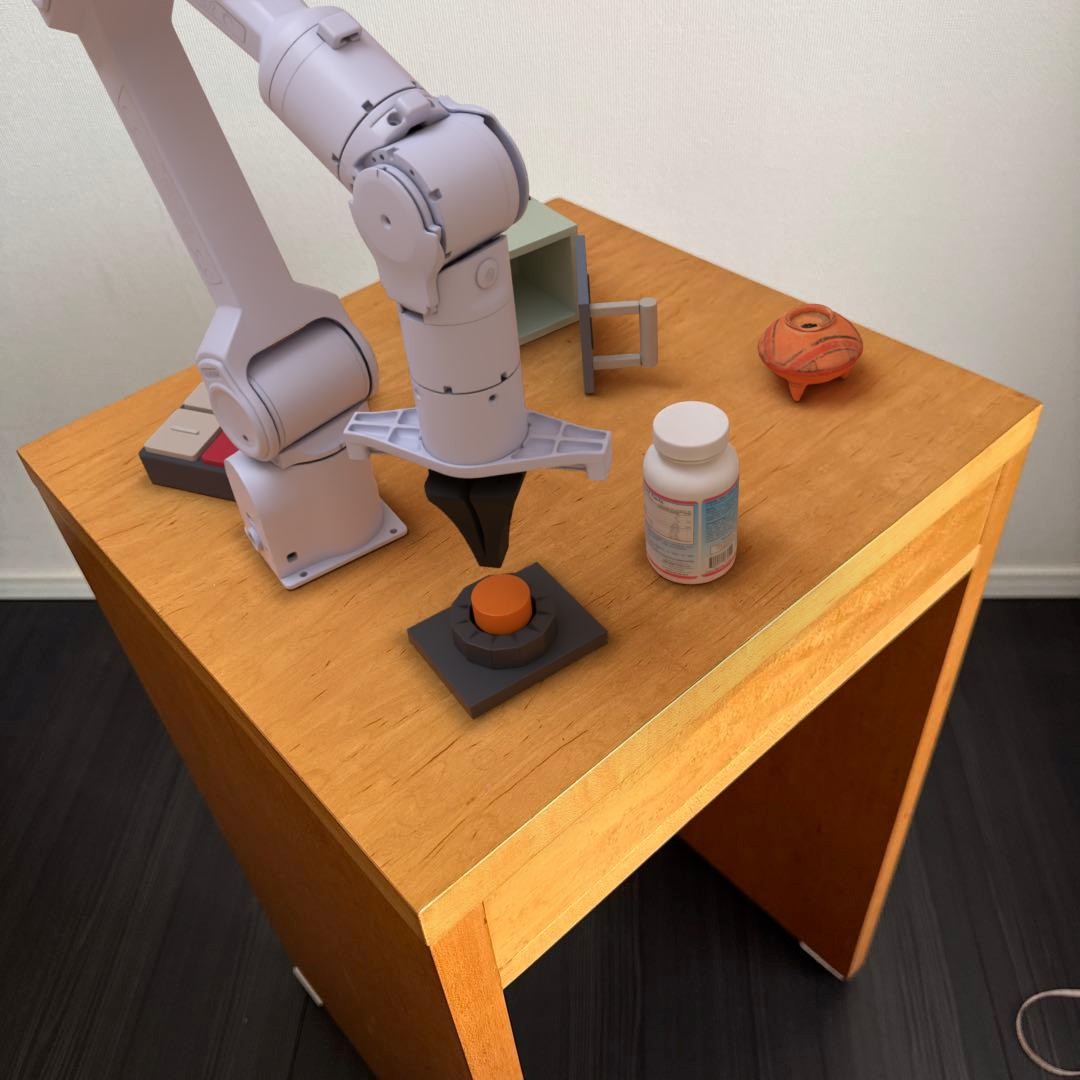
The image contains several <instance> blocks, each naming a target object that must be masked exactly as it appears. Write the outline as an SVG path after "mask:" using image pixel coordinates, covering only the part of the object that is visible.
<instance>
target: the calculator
mask: <svg viewBox="0 0 1080 1080" xmlns="http://www.w3.org/2000/svg"><path fill="white" fill-rule="evenodd" d="M268 346H269V345H268ZM268 346H267V347H268ZM265 348H266V347H265ZM263 349H264V348H263ZM261 350H262V349H261ZM259 351H260V350H259ZM259 351H258V352H259ZM237 451H239V449H238V448H237V447H236V446H235V445H234V444H233V443H232V442H231V441H230V439H229V438H228V437H227V436H226V434H225V433H224V431H223V430H222V428H221V427H220V425H219V423H218V421H217V420H216V418H215V415H214V413H213V411H212V408H211V405H210V401H209V394H208V391H207V389H206V386H205V383H204V381H203V380H202V381H201V382H200V383H199V384H198V385H197V386H196V387H195V389H194V390H193V391H192V392H191V393H190V394H189V395H188V396H187V397H186V398H185V400H183V401H182V405H181V406H180V407H178V408H176V409H175V410H174V411H173V412H172V413H171V414H170V415H169V416H168V417H167V419H166V420H165V421H164V422H163V423H162V424H161V425H159V427H158V428H157V430H155V432H154V433H152V435H150V437H149V438H148V439H147V440H146V441H145V442H144V444H143V447H142V448H140V450H139V451H138V457H139V459H140V461H141V464H142V465H143V468H144V470H145V473H146V474H147V476H148V478H149V480H150V482H151V483H153V484H155V485H156V484H157V485H161V486H166V487H170V488H173V489H174V488H175V489H179V490H183V491H188V492H192V493H197V494H202V495H206V496H209V497H215V498H219V499H225V500H228V501H233V502H236V500H235V497H234V494H233V491H232V488H231V485H230V482H229V480H228V477H227V474H226V470H225V465H224V460H225V459H226V458H228V457H229V456H231V455H233V454H234V453H236V452H237Z"/></svg>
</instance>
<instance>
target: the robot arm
mask: <svg viewBox="0 0 1080 1080" xmlns="http://www.w3.org/2000/svg"><path fill="white" fill-rule="evenodd" d="M185 1H186V2H187V3H188V4H189V5H190V6H192V7H193V8H194V9H195V10H196V11H198V12H199V13H200V14H201V16H203V17H205V18H206V19H207V20H208V21H209V22H210V23H211V24H212V25H214V26H215V27H216V28H217V29H218V30H220V31H221V33H223V34H224V35H225V36H227V37H228V38H229V39H230V40H231V41H232V42H233V43H235V45H237V46H238V47H239V48H241V50H243V51H244V52H245V53H246V54H247V55H249V57H251V58H252V59H253V61H255V62H256V63H258V65H259V66H258V74H257V83H258V84H257V85H258V87H257V88H258V92H259V95H260V96H259V97H260V98H261V100H262V102H263V104H265V106H266V107H267V108H268V109H269V110H270V111H271V112H272V113H273V114H274V115H275V116H276V117H277V118H278V119H279V120H280V121H281V122H282V124H284V126H285V127H286V128H288V130H289V131H290V132H291V133H292V135H294V136H295V137H296V138H297V139H298V140H299V141H300V142H301V143H302V144H303V146H305V147H306V148H307V149H308V150H309V152H310V153H312V155H313V156H314V157H315V158H316V159H317V160H318V161H319V162H320V163H321V164H322V165H323V166H324V167H325V168H326V169H327V170H328V172H330V173H331V174H332V175H333V176H334V178H335V179H337V181H339V183H340V184H341V185H342V186H343V187H344V188H345V189H346V190H347V191H348V192H349V193H350V194H351V195H352V199H349V200H348V201H347V203H348V206H349V207H348V208H349V211H350V214H351V216H352V217H351V218H352V220H353V222H354V224H355V228H356V229H357V231H358V233H359V235H360V237H361V239H362V241H363V242H364V244H365V246H366V247H367V249H368V250H369V252H370V254H371V255H372V258H373V260H374V262H375V265H376V267H377V272H378V277H379V282H380V286H381V287H383V288H384V290H385V294H386V296H387V297H388V299H390V300H392V301H394V302H395V304H396V310H397V315H398V320H399V325H400V330H401V336H402V339H403V340H402V342H403V346H404V351H405V356H406V361H407V367H408V372H409V373H408V374H409V379H410V383H411V389H412V394H413V400H414V404H415V406H412V407H406V408H405V407H404V408H398V409H392V410H384V411H383V410H380V411H370V408H369V404H368V400H369V399H371V398H372V397H374V396H375V395H376V394H377V392H378V390H379V385H380V368H379V364H378V360H377V357H376V354H375V352H374V350H373V348H372V346H371V344H370V342H369V341H368V339H367V337H366V336H365V335H364V334H363V333H362V331H361V330H360V329H359V328H358V327H357V326H356V324H355V322H354V321H353V320H352V318H351V317H350V315H349V314H348V312H347V310H346V308H345V307H344V304H343V302H342V301H341V299H340V298H339V296H338V295H337V294H336V293H335V292H332V291H330V290H327V289H324V288H320V287H317V286H313V285H309V284H305V283H302V282H298V281H295V280H294V279H293V277H292V275H291V272H290V270H289V268H288V266H287V264H286V262H285V260H284V258H283V256H282V253H281V251H280V249H279V248H278V245H277V243H276V241H275V239H274V237H273V235H272V232H271V230H270V228H269V226H268V224H267V222H266V220H265V218H264V215H263V213H262V211H261V209H260V207H259V205H258V203H257V200H256V199H255V196H254V194H253V192H252V189H251V188H250V186H249V184H248V182H247V180H246V178H245V176H244V175H245V174H244V173H243V171H242V169H241V167H240V165H239V163H238V160H237V159H236V156H235V154H234V152H233V150H232V148H231V146H230V143H229V141H228V139H227V137H226V135H225V133H224V131H223V129H222V126H221V125H220V122H219V121H218V118H217V116H216V113H215V111H214V110H213V107H212V105H211V103H210V101H209V99H208V97H207V95H206V93H205V91H204V88H203V86H202V84H201V82H200V80H199V78H198V76H197V74H196V71H195V69H194V68H193V65H192V63H191V60H190V58H189V57H188V55H187V53H186V50H185V48H184V46H183V43H182V42H181V40H180V37H179V35H178V33H177V31H176V29H175V27H174V25H173V11H174V5H175V0H31V2H32V3H33V5H34V6H35V7H36V8H37V10H38V11H39V14H40V16H41V18H42V20H43V21H44V23H45V25H46V27H47V28H49V29H52V30H56V31H60V32H64V33H65V32H66V33H69V34H74V35H77V38H78V39H79V41H80V42H81V45H82V46H83V48H84V50H85V52H86V54H87V56H88V58H89V60H90V61H91V64H92V65H93V68H94V69H95V71H96V73H97V75H98V77H99V79H100V81H101V83H102V85H103V87H104V89H105V91H106V92H107V95H108V97H109V99H110V100H111V103H112V104H113V107H114V108H115V111H116V113H117V114H118V116H119V119H120V120H121V122H122V125H123V126H124V128H125V130H126V132H127V135H128V136H129V138H130V140H131V142H132V144H133V146H134V148H135V151H136V152H137V154H138V156H139V158H140V160H141V162H142V164H143V166H144V167H145V169H146V171H147V174H148V175H149V177H150V179H151V181H152V183H153V185H154V187H155V189H156V191H157V193H158V194H159V195H158V196H159V197H160V199H161V201H162V204H164V207H165V209H166V211H167V213H168V214H169V217H170V219H171V221H172V223H173V224H174V226H175V229H176V230H177V232H178V234H179V237H180V238H181V241H182V243H183V244H184V246H185V248H186V250H187V252H188V254H189V256H190V257H191V260H192V262H193V265H194V266H195V268H196V270H197V271H198V274H199V276H200V278H201V279H202V281H203V283H204V286H205V287H206V290H207V291H208V293H209V296H210V297H211V299H212V301H213V303H214V305H215V310H214V311H215V312H214V315H213V317H212V319H211V321H210V323H209V325H208V328H207V329H206V332H205V334H204V336H203V338H202V341H201V343H200V345H199V347H198V349H197V352H196V354H195V357H194V361H195V363H196V365H197V370H198V372H199V375H200V376H201V379H202V381H204V383H205V386H206V389H207V391H208V394H209V401H210V405H211V408H212V411H213V413H214V415H215V418H216V420H217V421H218V423H219V425H220V427H221V428H222V430H223V431H224V433H225V434H226V436H227V437H228V438H229V439H230V441H231V442H232V443H233V444H234V445H235V446H236V447H237V448H238V449H239V451H237V452H236V453H234V454H233V455H231V456H229V457H228V458H226V459H225V460H224V465H225V470H226V474H227V477H228V480H229V482H230V485H231V488H232V491H233V494H234V497H235V500H236V501H235V502H236V505H237V509H238V511H239V513H240V517H241V520H242V522H243V525H244V528H243V529H244V532H245V535H246V536H247V538H248V540H250V543H251V544H252V546H253V548H254V549H255V550H256V552H258V553H259V554H260V555H261V557H262V558H263V560H264V561H265V562H266V564H267V565H268V566H269V568H270V570H271V571H272V572H273V573H274V575H275V577H277V579H278V580H279V582H280V583H281V584H282V586H283V587H284V589H286V590H295V589H297V588H298V587H301V586H303V585H305V584H307V583H309V582H311V581H313V580H315V579H318V578H319V577H321V576H324V575H325V574H327V573H330V572H332V571H334V570H335V569H337V568H340V567H342V566H344V565H346V564H348V563H350V562H352V561H354V560H356V559H358V558H360V557H362V556H365V555H367V554H369V553H371V552H373V551H375V550H377V549H379V548H382V547H383V546H385V545H388V544H389V543H391V542H393V541H395V540H398V539H400V538H402V537H404V536H405V535H407V534H408V527H407V525H406V524H405V523H404V522H403V521H402V520H401V518H400V517H399V516H398V515H397V514H396V513H395V512H394V511H393V510H392V508H391V507H390V506H389V505H388V504H387V503H386V502H385V501H384V500H383V499H382V498H381V496H380V493H379V488H378V484H377V480H376V475H375V471H374V467H373V462H372V458H371V455H383V456H394V457H396V458H398V459H401V460H405V461H407V462H409V463H412V464H415V465H418V466H421V467H423V468H426V469H427V472H428V475H427V477H426V478H425V481H424V484H423V489H424V493H425V496H426V499H427V501H428V502H429V503H431V504H432V505H434V506H435V507H436V508H438V509H439V511H441V512H442V513H443V514H444V515H445V516H446V517H447V518H448V519H449V521H451V522H452V524H454V526H455V527H456V528H457V530H458V532H459V533H460V535H461V536H462V537H463V539H464V540H465V542H466V544H467V545H468V548H469V549H470V551H471V552H472V555H473V558H474V559H475V561H476V562H477V564H478V566H479V567H483V568H491V569H501V568H502V566H503V565H504V561H505V559H506V556H507V553H508V550H509V548H510V533H511V532H510V530H511V523H512V517H513V513H514V508H515V504H516V501H517V500H518V497H519V494H520V491H521V489H522V486H523V484H524V480H525V478H526V475H527V474H528V473H527V472H530V471H531V472H532V471H537V470H544V469H547V470H559V471H572V472H583V473H586V479H588V480H590V481H596V482H607V480H608V478H609V474H610V471H611V467H612V463H613V459H614V454H613V436H612V435H613V434H612V432H613V431H611V430H606V429H597V428H592V427H587V426H583V425H579V424H576V423H573V422H570V421H567V420H564V419H561V418H557V417H554V416H551V415H548V414H545V413H542V412H539V411H536V410H533V409H529V408H527V405H526V396H525V395H526V394H525V385H524V378H523V377H524V376H523V369H522V359H521V350H520V349H521V348H520V346H519V339H518V330H517V321H516V312H515V303H514V294H513V285H512V276H511V267H510V258H509V248H508V239H507V235H503V234H501V233H503V232H504V231H506V230H507V229H509V228H510V227H511V225H513V224H515V223H516V222H518V221H519V220H520V219H521V218H522V216H523V215H524V213H525V211H526V208H527V205H528V200H529V195H530V181H529V176H528V170H527V166H526V163H525V161H524V158H523V156H522V153H521V151H520V149H519V147H518V145H517V144H516V142H515V140H514V138H513V137H512V136H511V135H510V133H509V132H508V131H507V129H505V127H504V126H503V125H502V124H501V122H500V120H499V119H498V118H497V117H496V115H495V114H494V113H493V112H491V111H490V110H489V109H486V108H485V107H482V106H480V105H477V104H472V103H462V104H461V103H458V102H456V101H454V100H453V99H452V98H451V97H450V96H449V95H448V94H446V95H443V94H440V95H438V96H435V95H434V96H433V95H432V94H431V93H430V92H429V91H427V90H426V89H425V88H424V86H422V84H420V83H419V82H418V81H417V79H416V78H415V77H414V76H412V74H410V73H409V71H407V70H406V68H404V66H402V64H400V63H399V62H398V61H397V60H396V58H394V57H393V55H391V54H390V52H388V50H386V49H385V48H384V46H383V45H382V44H380V43H379V42H378V40H376V39H375V38H374V36H372V34H370V32H369V31H368V30H367V29H365V28H364V27H363V26H362V24H360V22H358V20H357V19H356V18H354V17H353V15H352V14H350V12H349V11H347V10H346V9H344V8H342V7H341V6H336V5H318V6H314V7H310V6H309V5H308V4H307V3H306V2H305V1H304V0H185ZM268 345H269V346H268ZM267 346H268V347H267ZM265 347H266V348H265ZM263 348H264V349H263ZM261 349H262V350H261ZM259 350H260V351H259ZM258 351H259V352H258Z"/></svg>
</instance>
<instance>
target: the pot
mask: <svg viewBox="0 0 1080 1080" xmlns="http://www.w3.org/2000/svg"><path fill="white" fill-rule="evenodd" d="M756 346H757V353H758V356H759V358H760V360H761V362H762V363H763V364H764V365H765V366H766V368H767V369H768V370H769V371H771V372H772V373H773V374H775V375H777V376H779V377H781V378H782V379H785V380H786V381H787V383H788V387H789V390H790V394H791V397H792V399H793V401H795V402H799V401H800V400H801V397H802V396H803V393H804V391H805V389H806V387H807V386H808V385H816V384H823V383H827V382H830V381H832V380H835V379H837V378H839V377H840V378H841V379H843V380H844V379H846V378H848V377H849V375H850V373H851V372H852V369H853V367H854V365H856V363H857V362H858V360H859V359H860V358H861V356H862V355H863V352H864V341H863V338H862V336H861V334H860V332H859V331H858V329H857V328H856V326H855V325H854V324H853V323H852V322H851V321H850V320H848V319H847V318H846V317H844V316H843V315H841V314H840V313H838V312H836V311H835V310H833V309H832V308H830V306H829V307H828V306H827V305H823V304H820V303H806V304H801V305H797V306H795V307H794V308H791V309H790V310H789V311H787V313H786V314H785V315H782V316H781V317H779V318H778V319H776V320H775V321H773V322H772V323H771V324H770V325H769V326H768V327H767V328H765V330H764V331H763V332H762V334H761V336H760V337H759V339H758V342H757V345H756Z"/></svg>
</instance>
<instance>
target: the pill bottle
mask: <svg viewBox="0 0 1080 1080" xmlns="http://www.w3.org/2000/svg"><path fill="white" fill-rule="evenodd" d="M729 441H730V421H729V416H728V415H727V414H726V413H725V411H724V410H722V409H721V408H720V407H718V406H716V405H714V404H712V403H708V402H704V401H699V400H686V401H680V402H675V403H672V404H670V405H668V406H666V407H664V408H663V409H661V410H660V411H659V412H657V414H656V415H655V416H654V418H653V421H652V443H651V445H649V447H648V448H647V450H646V451H645V452H646V453H645V454H644V457H643V461H642V485H643V506H644V507H643V508H644V528H645V529H644V530H645V551H646V557H647V560H648V562H649V564H650V566H651V567H652V568H653V569H654V570H655V572H656V573H657V574H658V575H660V576H661V577H663V578H664V579H667V580H668V581H671V582H673V583H677V584H684V585H699V584H705V583H709V582H712V581H715V580H717V579H719V578H721V577H722V576H724V575H725V574H726V573H727V572H728V571H729V570H731V568H732V566H733V565H734V563H735V562H736V561H735V560H736V557H737V549H738V523H739V521H738V520H739V496H740V495H739V494H740V459H739V455H738V453H737V451H736V449H735V448H734V446H733V445H732V444H731V443H730V442H729Z"/></svg>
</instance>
